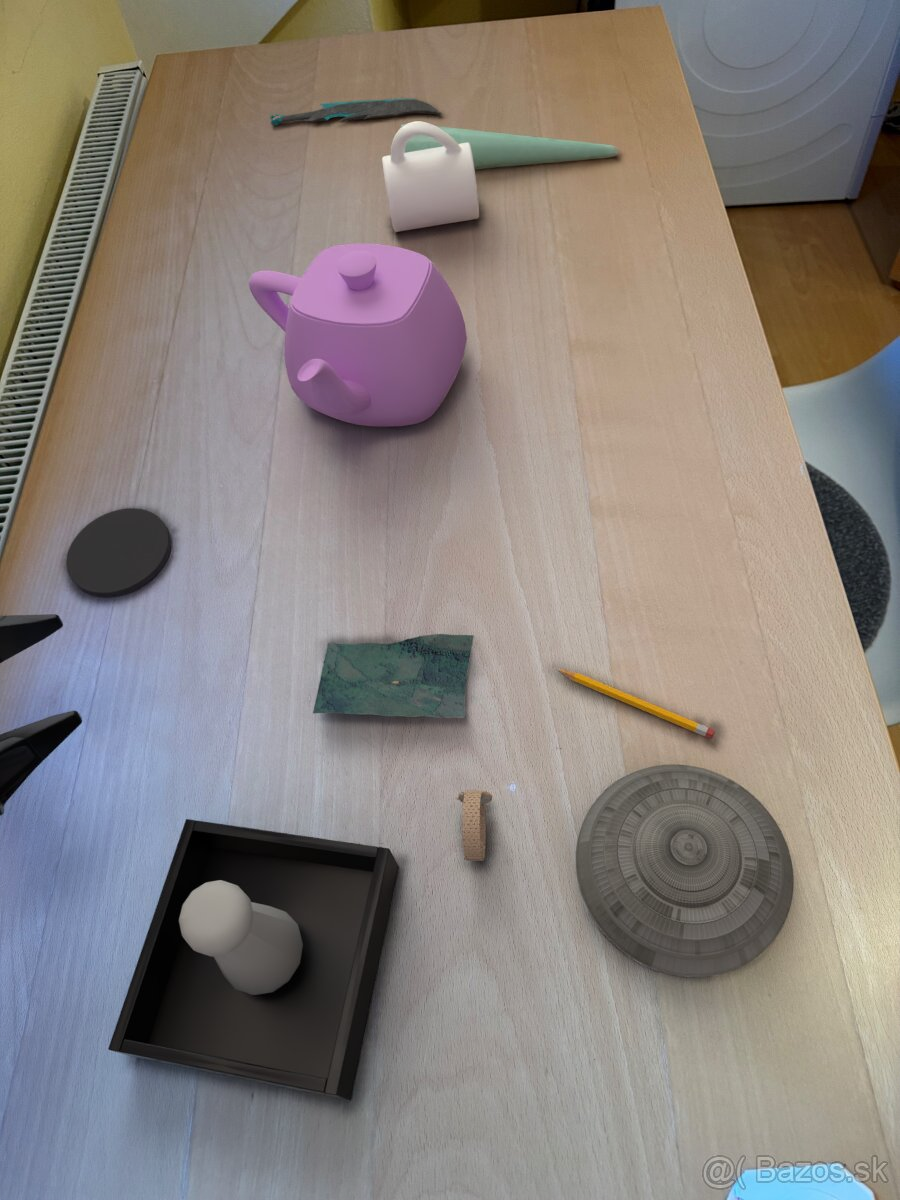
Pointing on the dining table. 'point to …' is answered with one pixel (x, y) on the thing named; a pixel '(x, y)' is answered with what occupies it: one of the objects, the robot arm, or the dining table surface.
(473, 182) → the mug
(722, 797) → the flying saucer
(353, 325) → the teapot
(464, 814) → the perforated watch strap
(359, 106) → the knife
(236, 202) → the dining table surface
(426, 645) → the terrain model
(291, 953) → the salt shaker
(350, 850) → the tin
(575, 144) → the long green cone
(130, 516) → the disc
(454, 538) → the dining table surface
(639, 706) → the pencil
